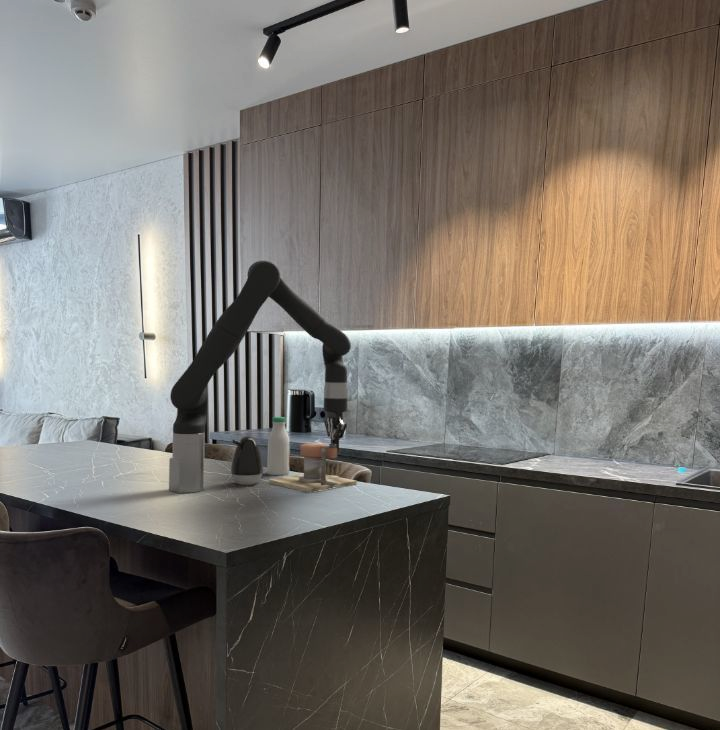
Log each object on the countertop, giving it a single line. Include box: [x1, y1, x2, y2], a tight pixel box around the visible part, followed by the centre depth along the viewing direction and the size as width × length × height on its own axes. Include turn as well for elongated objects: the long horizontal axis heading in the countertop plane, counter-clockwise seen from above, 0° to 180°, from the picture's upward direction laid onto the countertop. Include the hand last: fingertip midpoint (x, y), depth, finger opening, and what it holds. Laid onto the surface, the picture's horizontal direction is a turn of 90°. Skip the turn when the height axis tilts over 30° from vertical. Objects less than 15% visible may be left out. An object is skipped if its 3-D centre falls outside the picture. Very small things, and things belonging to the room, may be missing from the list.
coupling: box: [299, 443, 338, 459], centre depth 189 cm, size 14×8×4 cm, turn 46°
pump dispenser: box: [230, 436, 264, 486], centre depth 189 cm, size 10×10×15 cm
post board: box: [268, 448, 358, 493], centre depth 191 cm, size 20×20×12 cm
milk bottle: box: [266, 416, 291, 476], centre depth 209 cm, size 8×8×20 cm
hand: (334, 451), depth 188 cm, fingers closed
